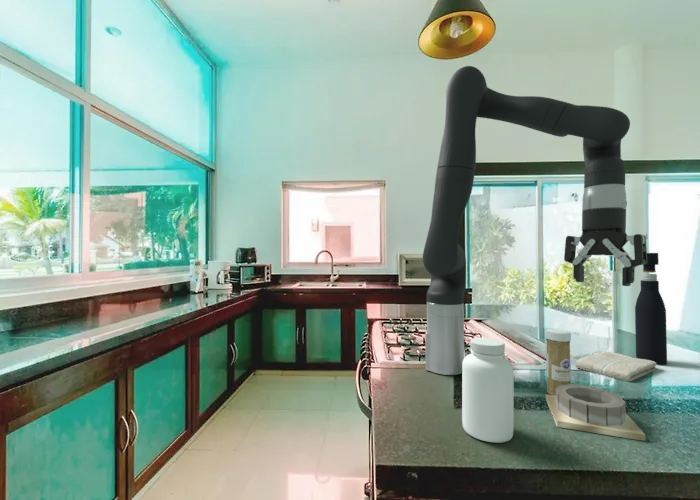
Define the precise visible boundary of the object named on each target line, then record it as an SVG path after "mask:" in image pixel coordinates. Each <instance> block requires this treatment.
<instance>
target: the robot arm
mask: <svg viewBox="0 0 700 500" xmlns="http://www.w3.org/2000/svg"><path fill="white" fill-rule="evenodd" d="M445 93H446V95H445V117H444V118H445V119H444V129H443V135H442V140H441V145H440V151H439V157H438V161H437V162H438V163H437V166H436V167H437V168H436V173H435V180H434V181H435V182H434V191H433V200H432V209H431V217H430V223H429V228H428V232H427V236H426V240H425V243H424V248H423V253H422V263H423V267H424V268H425V270H426V272H428V273H429V274H430V285H429V287H428V289H427V292H426V332H425V334H424V335H425V337H424V338H425V339H424V341H425V349H424V350H425V352H424V353H425V371H429V372H431V373H436V374H438V375H439V374H440V375H444V376H457V375H461V374H462V363H463V360H464V358H465V316H464V315H465V312H464V311H465V309H464V307H465V305H464V297H465V293H466V289H467V288H466V287H467V286H466V285H467V273H466V272H467V260H466V253H465V251H464V249H463V247H462V246H461V245H460V244H459V233H460V226H461V221H462V218H463V216H464V212H465V211H466V208H467V206H468V203H469V200H470V197H471V194H472V190H473V186H474V179H475V173H476V165H477V164H476V163H477V162H476V161H477V145H476V144H477V142H476V141H477V140H476V125H477V118H480V119H481V118H482V119H489V120H494V121H500V122H504V123H509V124H513V125H518V126H521V127H525V128H528V129H532V130H535V131H538V132H541V133H545V134H547V135H551V136H555V137H560V138H564V137H567V136H573V137H579V138H582V150H583V151H582V152H583V162H584V165H585V166H584V178H583V179H584V180H583V181H584V182H583V184H584V185H583V187H584V188H583V195H582V208H581V209H582V211H581V212H582V213H581V217H582V218H581V231H582V232H581V235H580V236H574V235H566V236H565V244H564V245H565V247H564V258H563V261H564V262H566V263H570V264H571V265H572V266H573V274H572V275H573V279H574V280H575V281H576V283H583V282H584V281H585V265H584V263H586V261H587V260H588V259H589V258H591V257H592V256H614V257H615V258H616V259H618V260H619V261H620V263H621V264H622V265H623V266H624V267H622V269H621V270H622V272H621V273H622V274H621V275H622V276H621V281H622V282H621V285H622V287H630V286H631V284H634V282H635V269H636V267H638V266H643V264H646V263H647V253H648V251H647V250H648V249H647V237H646V235H644V234H641V233H639V234H638V233H637V234H634V235H633V234H632V235H628V234H627V232H626V230H627V207H628V201H627V192H626V191H627V190H626V164H625V161H624V160H623V159H622V155H621V154H622V153H621V151H622V148H621V145H622V139H624V137H625V136H626V135H627V134H628V132H629V130H630V128H631V127H630V126H631V121H630V118H629V117H628V115H627V114H626V113H624V112H623V111H621V110H619V109H617V108H612V107H608V106H597V105H587V104H586V105H582V104H581V105H577V104H574V103H570V102H567V101H563V100H558V99H555V98H550V97H545V96H535V95H534V96H527V95H525V96H523V95H521V96H520V95H518V96H517V95H511V94H510V95H509V94H505V93H502V92H498V91H497V90H493V89H491V88H489V87H488V85H487V80H486V77H485V76H484V74H483V72H482V71H481V70H480V69H478V68H477V67H476V66H472V65H466V66H462V67H460V68H459V69H458V70H456V71H455V72H454V73H453V74H452V75H451V77H450V79H449V81H448V83H447V85H446V91H445ZM628 242H629V244H630V245H631V246H633V253H634V259H633V258H632V257H631V256H630V254H629V253H628V252H627V250H625V249H624V247H625V245H626V244H627V243H628ZM579 243H581V245H582V246H583V248H581V250H580V251H579V252H578V253H577V254H578V255H576V252H577V246H578V245H579Z"/></svg>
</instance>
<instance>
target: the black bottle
mask: <svg viewBox="0 0 700 500" xmlns="http://www.w3.org/2000/svg"><path fill="white" fill-rule="evenodd" d="M658 265H659V253H658V252H647V263H646V264H643V265H642V272H643V273H642V274H641V280H640V291H639V293H638V296H637V298H636V302H635V306H634V315H635V317H634V318H635V319H634V320H635V326H634V327H635V328H634V329H635V358H638V359H645V360H651V361H654V362H656V363H657V365H656V366H665V365H668V345H667V344H668V343H667V341H668V339H667V310H666V306H665V302H664V300H663V297H662V294H661V293H660V290H659V289H660V287H659V284H660V282H659V280H658V274H657V273H656V266H658Z"/></svg>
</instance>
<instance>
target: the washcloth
mask: <svg viewBox="0 0 700 500" xmlns="http://www.w3.org/2000/svg"><path fill="white" fill-rule="evenodd" d="M656 366H658V365H657V363H656V362H654V361H651V360H645V359H638V358H636V357H633V356H632V357H631V356H629V355H625V354H622V353H617V352H616V353H615V352H610V351H604V352H597V351H596V352H594V353H592V354H589V355H586V356H584V357H581V358H578V359H577V360H576V362H575V368H576V367H577V369H578V368H580V369H583V370H582V371H585V370H586V371H585V372H589V371H590V372H589V373H593V372H594V374H597V373H598V375H600V374H601V376H604V375H605V377H607V376H608V378H611V377H612V378H611V379H615V378H616V380H620V381H623V382H629V383H630V382H633V381H635V380H637V379H639V378H641V377H644V376H645V375H647V374H649V373H652V372H654V371H657V370H658V368H657V367H656ZM580 369H579V370H580Z"/></svg>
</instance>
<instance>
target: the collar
mask: <svg viewBox="0 0 700 500" xmlns="http://www.w3.org/2000/svg"><path fill="white" fill-rule="evenodd" d="M545 401H546V403H547V405H548V408H549V411H550V410H551V411H550V412H551V416H552V415H553V416H552V418H553V420H554V423H555V425H556V427H558V428H561V429H562V428H564V429H567V430H568V429H570V430H575V431H581V432H585V433H586V432H588V433H594V434H600V435H606V436H612V437H619V438H624V439H630V440H636V441H643V442H646V434H645V433H644V432H643V430H642V429H641V428H640V427H639V426H638V425H637V423H636V422H635V421H634V420H633V419H632V418H631V417H630V416H629V415H628V414H627V411H626V406H627V404H626V401H625V400H624V399H623V398H622V397H621V396H620V395H618V394H616V393H613V392H611V391H608V390H607V389H602V388H598V387H594V386H589V385H584V384H583V385H582V384H572V383H571V384H570V385H560V386H559V387H557V388H556V395H551V394H549V393H545Z"/></svg>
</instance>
